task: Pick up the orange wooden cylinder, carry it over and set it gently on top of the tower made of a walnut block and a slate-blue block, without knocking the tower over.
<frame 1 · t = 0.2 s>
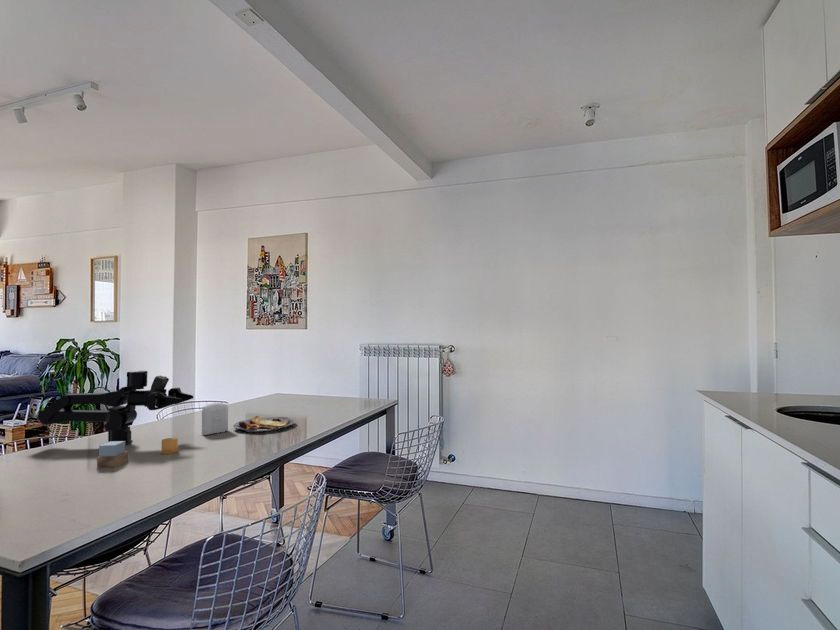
hand: (187, 398, 168), 17 cm above the table, tool horizontal, fingers open, 9 cm apart
food plate: (264, 428, 191), on the table
orange cylinder: (169, 452, 155), on the table
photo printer: (215, 433, 182), on the table
slate top block: (112, 454, 142), point 3 cm above the table
walnut base block: (112, 464, 142), on the table
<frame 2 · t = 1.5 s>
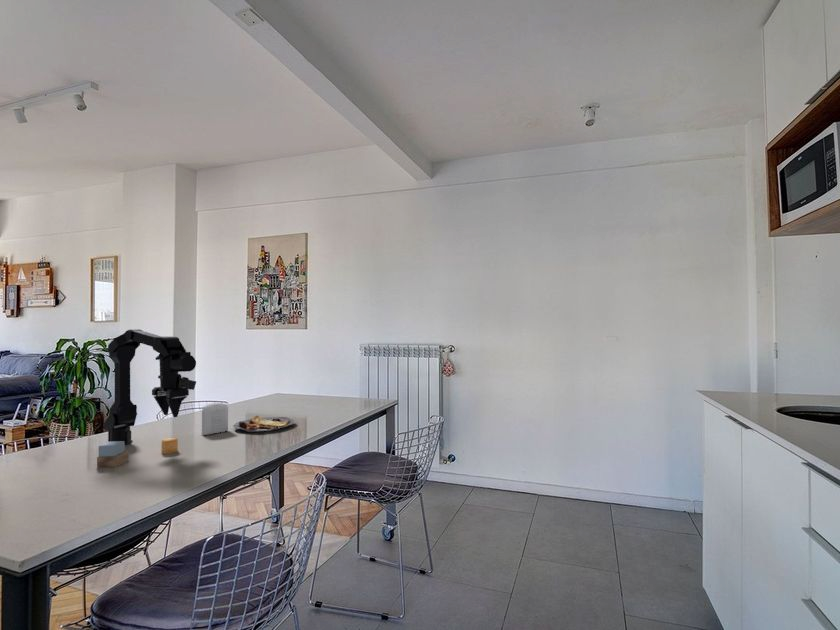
hand: (170, 416, 155), 13 cm above the table, tool pointing down, fingers open, 9 cm apart
slate top block: (111, 454, 142), point 3 cm above the table, touching walnut base block
walnut base block: (112, 464, 142), on the table, touching slate top block
everything else where it was.
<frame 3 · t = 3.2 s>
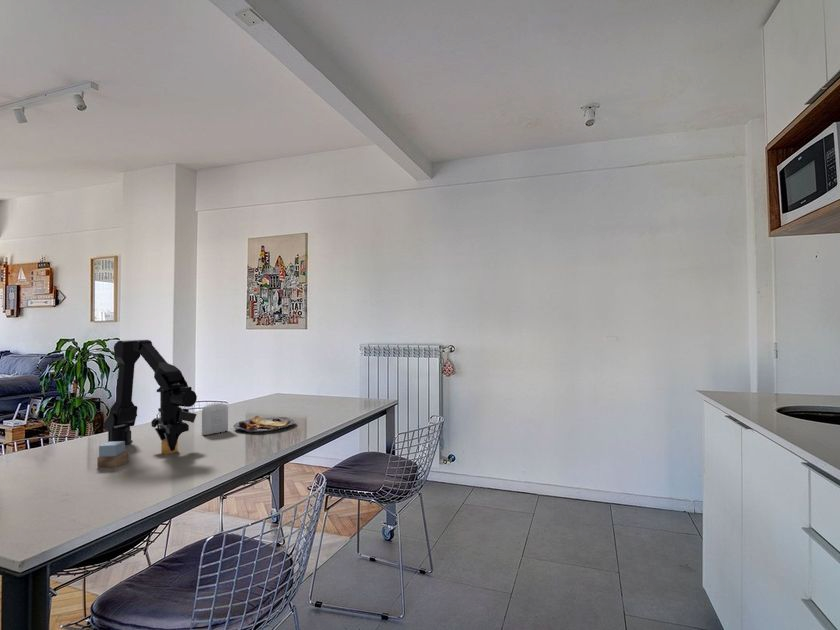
hand: (169, 449, 155), 1 cm above the table, tool pointing down, fingers closed on orange cylinder, 5 cm apart
orange cylinder: (169, 452, 155), on the table, touching gripper
slate top block: (112, 454, 142), point 3 cm above the table
walnut base block: (113, 464, 142), on the table
everything else where it was.
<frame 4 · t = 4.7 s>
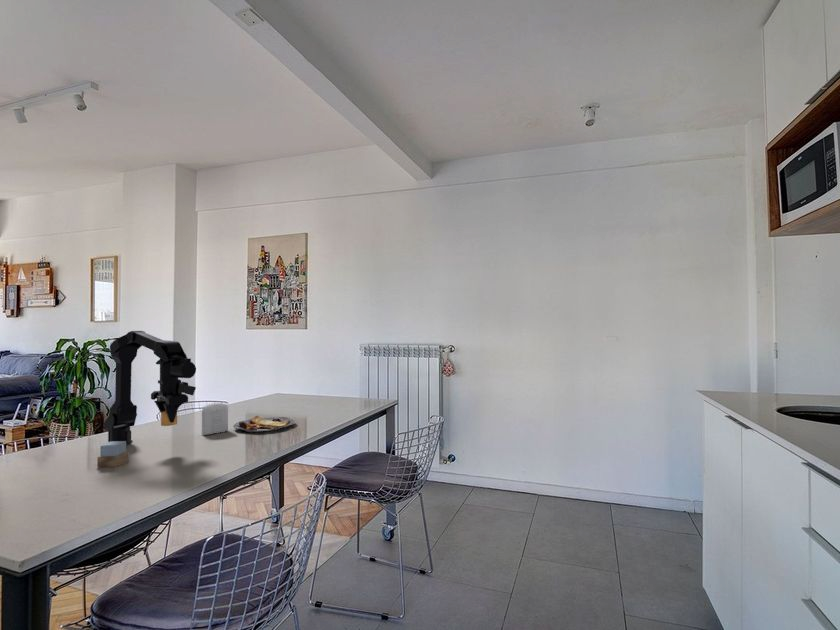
hand: (169, 421, 155), 11 cm above the table, tool pointing down, fingers closed on orange cylinder, 5 cm apart
orange cylinder: (169, 424, 155), point 10 cm above the table, touching gripper
slate top block: (113, 454, 142), point 3 cm above the table, touching walnut base block
walnut base block: (113, 464, 142), on the table, touching slate top block
everything else where it was.
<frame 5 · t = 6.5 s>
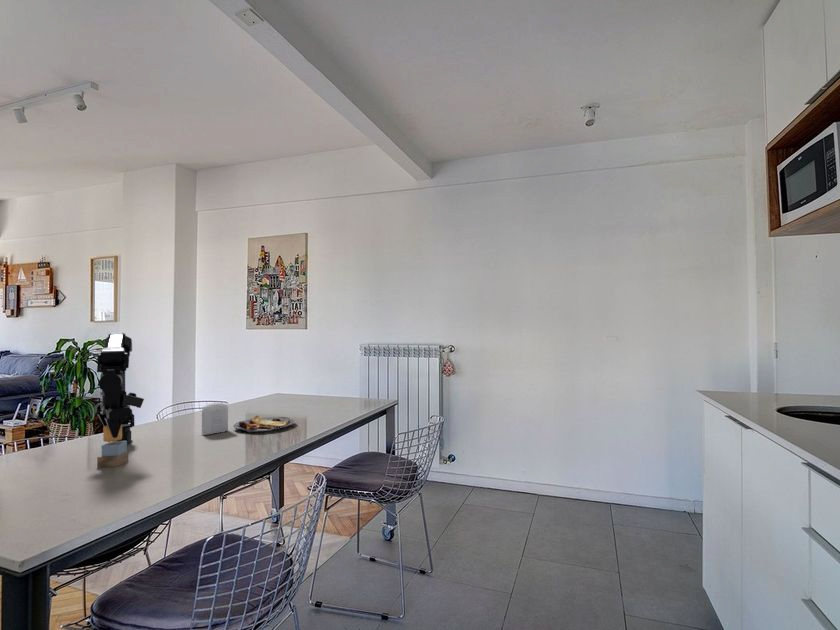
hand: (112, 436, 142), 9 cm above the table, tool pointing down, fingers closed on orange cylinder, 5 cm apart
orange cylinder: (112, 439, 142), point 8 cm above the table, touching gripper
everything else where it was.
when the fingers open (9 cm above the table, at t = 6.6 s): orange cylinder drops 1 cm, resting on slate top block.
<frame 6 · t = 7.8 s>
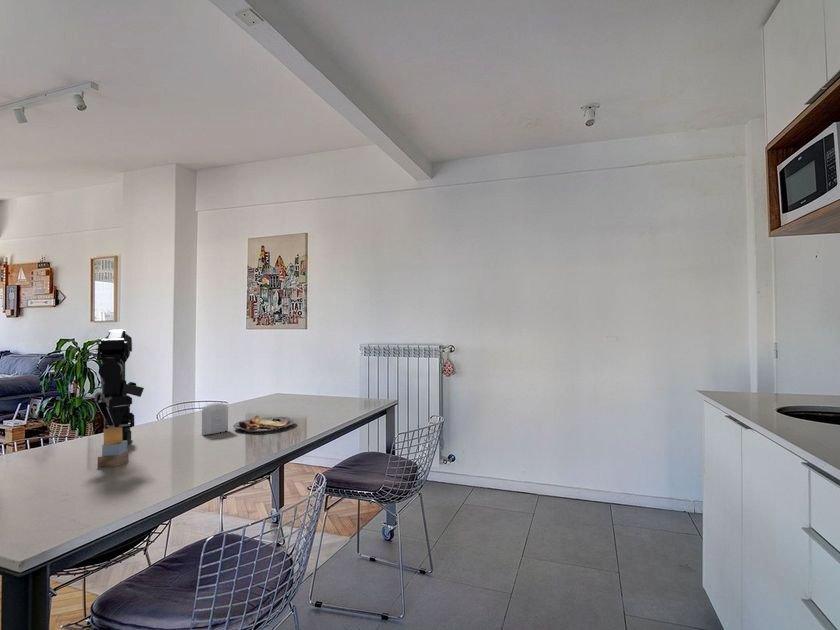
hand: (112, 425, 142), 13 cm above the table, tool pointing down, fingers open, 9 cm apart
orange cylinder: (113, 442, 142), point 7 cm above the table, touching slate top block
slate top block: (115, 453, 143), point 3 cm above the table, touching orange cylinder, walnut base block
everything else where it was.
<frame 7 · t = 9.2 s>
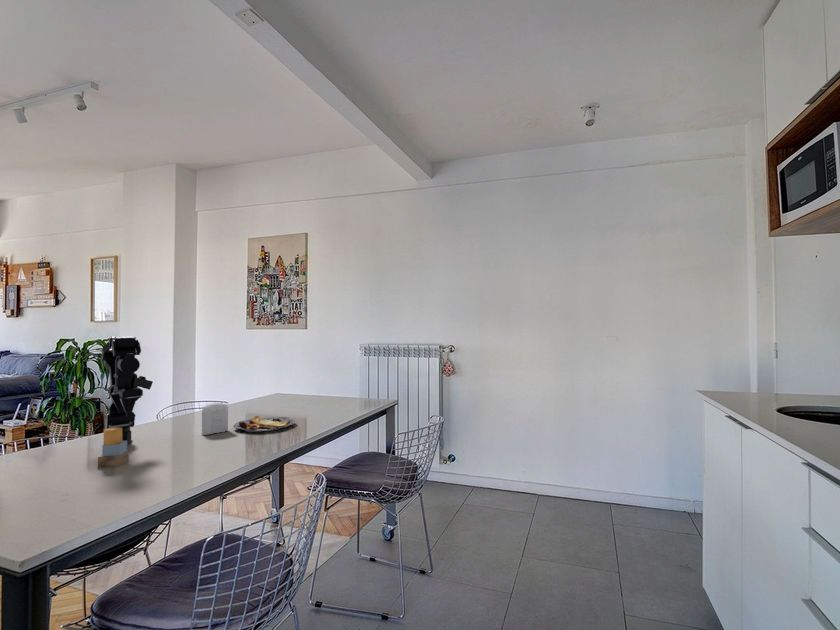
hand: (125, 414, 157), 13 cm above the table, tool pointing down, fingers open, 9 cm apart
nothing on the table moved.
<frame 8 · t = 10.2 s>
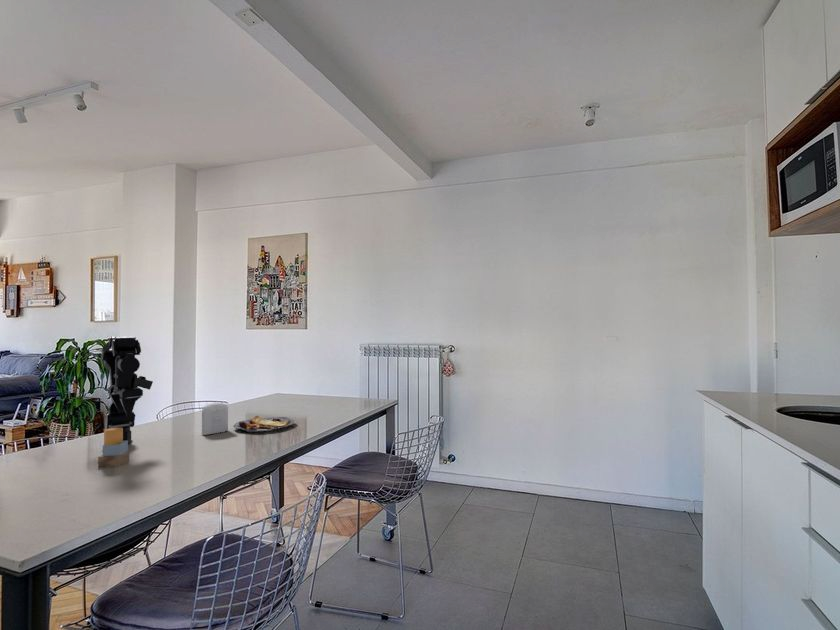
hand: (125, 414, 157), 13 cm above the table, tool pointing down, fingers open, 9 cm apart
nothing on the table moved.
at the end: orange cylinder 0.2 cm off-centre on the walnut base block, point 7.0 cm above the walnut base block's base; orange cylinder tilted 0°; slate top block 0.4 cm off-centre on the walnut base block, point 3.5 cm above the walnut base block's base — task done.
